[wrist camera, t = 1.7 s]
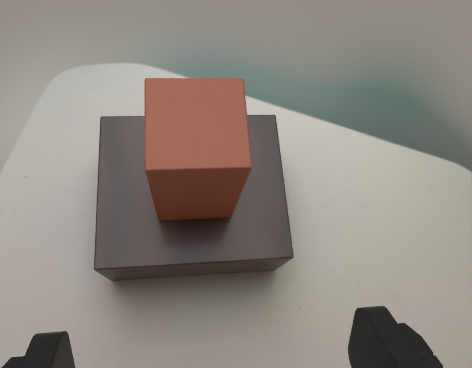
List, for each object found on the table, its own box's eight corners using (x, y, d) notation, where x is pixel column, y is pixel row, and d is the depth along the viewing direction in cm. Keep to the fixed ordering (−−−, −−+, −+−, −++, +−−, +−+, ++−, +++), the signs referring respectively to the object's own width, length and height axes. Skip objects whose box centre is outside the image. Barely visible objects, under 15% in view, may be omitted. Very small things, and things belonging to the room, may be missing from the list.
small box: (226, 151, 29) (243, 78, 20) (231, 217, 27) (252, 167, 19) (156, 152, 28) (144, 77, 20) (157, 220, 26) (144, 170, 18)
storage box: (261, 147, 36) (275, 114, 30) (275, 270, 32) (293, 257, 27) (114, 151, 34) (100, 116, 29) (110, 281, 30) (93, 270, 25)
